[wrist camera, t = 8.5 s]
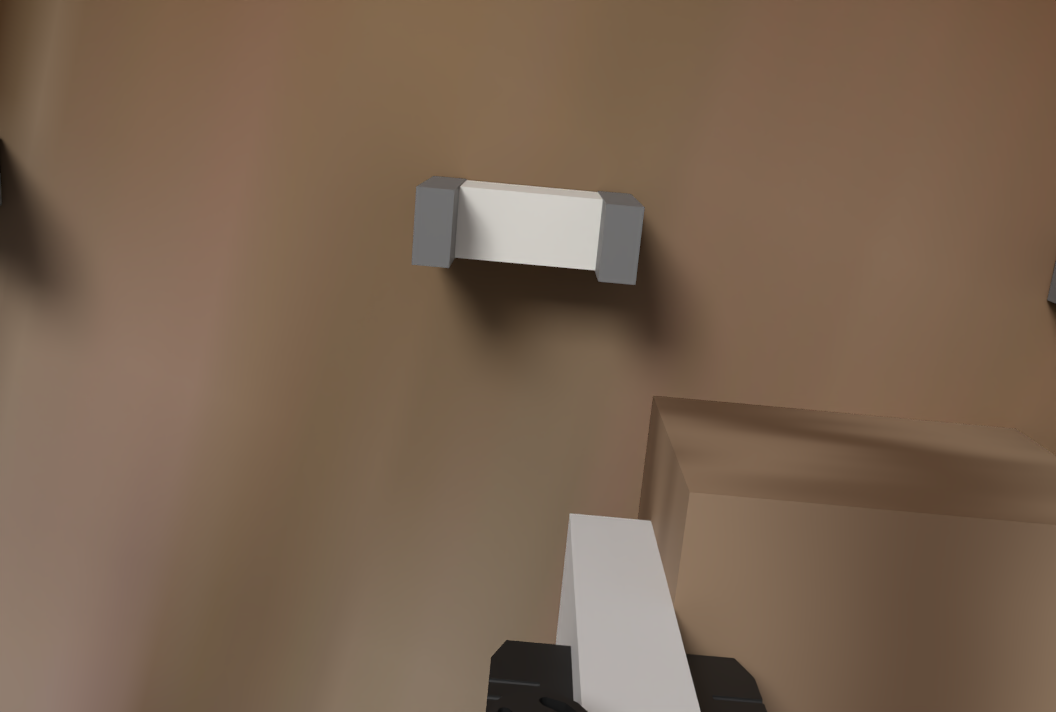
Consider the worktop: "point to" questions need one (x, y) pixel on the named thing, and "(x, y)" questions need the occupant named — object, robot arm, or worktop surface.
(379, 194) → the worktop surface
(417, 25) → the worktop surface
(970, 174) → the worktop surface
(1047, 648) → the block
